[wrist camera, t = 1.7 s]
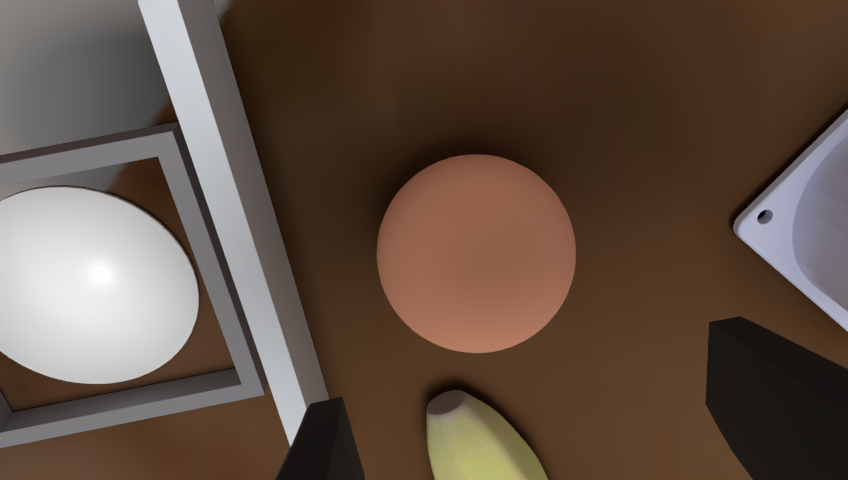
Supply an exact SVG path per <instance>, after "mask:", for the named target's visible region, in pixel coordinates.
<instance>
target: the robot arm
mask: <svg viewBox="0 0 848 480" xmlns="http://www.w3.org/2000/svg"><path fill="white" fill-rule="evenodd" d="M764 210H766V213H765V215H764V216H763V217H762V218H760V219H757V218H758V215H759V214H760V212H762V211H764ZM733 230H734V232H735V234H736V235H737V236H738V237H739V238H740V239H741V240H743V241H744V242H745V243H746V244H747V245H748V246H750V247H751V248H752V249H753V250H754V251H755V252H756V253H758V254H759V255H760V256H761V257H762V258H763V259H765V260H766V261H767V262H768V263H769V264H770V265H771V266H773V267H774V268H775V269H776V270H777V271H778V272H779V273H781V274H782V275H783V276H784V277H785V278H786V279H788V280H789V281H790V282H791V283H792V284H793V285H794V286H796V287H797V288H798V289H799V290H800V291H801V292H803V293H804V294H805V295H806V296H807V297H808V298H809V299H811V300H812V301H813V302H814V303H815V304H816V305H818V306H819V307H820V308H821V309H822V310H823V311H824V312H826V313H827V314H828V315H829V316H830V317H831V318H832V319H834V320H835V321H836V322H837V323H838V324H839V325H841V326H842V327H843V328H844V329H845V330H846V331H847V332H848V109H847V110H846V111H845V112H844V113H843V114H842V115H841V116H840V117H839V118H838V119H837V120H836V121H835V122H834V123H833V124H832V125H831V126H830V127H829V128H828V129H827V130H826V131H825V132H824V133H823V134H822V135H821V136H820V137H819V138H818V139H816V140H815V141H814V142H813V143H812V144H811V145H810V146H809V147H808V148H807V149H806V150H805V151H804V152H803V153H802V154H801V155H800V156H799V157H798V158H797V159H796V160H795V161H794V162H793V163H792V164H791V165H790V166H789V167H788V168H787V169H786V170H785V171H784V172H783V173H782V174H781V175H780V176H779V177H778V178H777V179H776V180H775V181H774V182H773V183H772V184H771V185H770V186H769V187H768V188H766V189H765V190H764V191H763V192H762V193H761V194H760V195H759V196H758V197H757V198H756V199H755V200H754V201H753V202H752V203H751V204H750V205H749V206H748V207H747V208H746V209H745V210H744V211H743V212H742V213H741V214H740V215H739V216H738V217H737V219H736V220H735V222H734V225H733ZM706 406H707V407H708V409H709V411H710V413H711V415H712V417H713V418H714V420H715V422H716V424H717V426H718V428H719V429H720V431H721V433H722V435H723V436H724V438H725V440H726V441H727V443H728V445H729V447H730V448H731V450H732V451H733V453H734V454H735V456H736V457H737V458H738V460H739V461H740V462H741V464H742V465H743V466H744V468H745V469H746V471H747V472H748V473H749V475H750V476H751V477H752V479H753V480H848V369H847V368H845V367H842V366H840V365H838V364H836V363H834V362H832V361H830V360H828V359H826V358H824V357H822V356H820V355H818V354H816V353H814V352H812V351H810V350H808V349H806V348H804V347H802V346H800V345H798V344H796V343H794V342H792V341H790V340H788V339H786V338H784V337H782V336H780V335H778V334H776V333H774V332H772V331H770V330H768V329H766V328H764V327H762V326H760V325H758V324H756V323H754V322H752V321H749V320H747V319H745V318H743V317H740V316H739V317H734V318H729V319H724V320H719V321H714V322H709V340H708V363H707V386H706ZM275 480H365V478H364V472H363V469H362V465H361V462H360V458H359V455H358V451H357V447H356V444H355V440H354V437H353V433H352V430H351V426H350V423H349V419H348V416H347V412H346V408H345V405H344V401H343V398H342V397H339V398H335V399H330V400H325V401H320V402H315V403H311V404H310V405H309V406H308V408H307V409H306V412H305V414H304V417H303V419H302V422H301V424H300V426H299V429H298V431H297V434H296V436H295V438H294V441H293V443H292V445H291V447H290V449H289V452H288V454H287V456H286V458H285V460H284V462H283V464H282V466H281V468H280V470H279V472H278V474H277V476H276V478H275Z"/></svg>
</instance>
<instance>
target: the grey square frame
mask: <svg viewBox="0 0 848 480" xmlns="http://www.w3.org/2000/svg"><path fill="white" fill-rule="evenodd" d="M157 156H158V158H159V161H160V163H161V166H162V169H163V172H164V174H165V177H166V180H167V182H168V185H169V188H170V191H171V193H172V196H173V199H174V202H175V204H176V207H177V210H178V212H179V215H180V218H181V221H182V223H183V226H184V229H185V231H186V234H187V237H188V240H189V242H190V245H191V248H192V251H193V253H194V256H195V259H196V261H197V264H198V267H199V270H200V272H201V275H202V278H203V280H204V283H205V286H206V289H207V291H208V294H209V297H210V300H211V302H212V305H213V308H214V310H215V313H216V316H217V319H218V321H219V324H220V327H221V329H222V332H223V335H224V338H225V340H226V343H227V346H228V349H229V351H230V354H231V357H232V359H233V362H234V365H235V368H233V369H228V370H223V371H218V372H213V373H208V374H203V375H198V376H193V377H188V378H183V379H178V380H173V381H168V382H163V383H158V384H153V385H148V386H143V387H138V388H133V389H128V390H123V391H118V392H113V393H108V394H103V395H98V396H93V397H88V398H83V399H78V400H73V401H68V402H63V403H58V404H53V405H48V406H43V407H38V408H33V409H28V410H23V411H18V412H12V410H11V408H10V407H9V405H8V403H7V401H6V400H5V398H4V396H3V395H2V393H1V391H0V448H3V447H8V446H13V445H18V444H23V443H28V442H33V441H38V440H43V439H48V438H53V437H58V436H63V435H68V434H73V433H78V432H83V431H88V430H93V429H98V428H103V427H108V426H113V425H118V424H123V423H128V422H133V421H138V420H143V419H148V418H153V417H158V416H163V415H168V414H173V413H178V412H182V411H187V410H192V409H197V408H202V407H207V406H212V405H217V404H222V403H227V402H232V401H237V400H242V399H247V398H252V397H257V396H262V395H265V390H266V384H267V377H266V374H265V371H264V368H263V365H262V362H261V359H260V356H259V353H258V350H257V347H256V344H255V342H254V339H253V336H252V333H251V330H250V327H249V324H248V321H247V318H246V315H245V312H244V310H243V307H242V304H241V301H240V298H239V295H238V292H237V289H236V286H235V283H234V280H233V277H232V275H231V272H230V269H229V266H228V263H227V260H226V257H225V254H224V251H223V248H222V245H221V242H220V240H219V237H218V234H217V231H216V228H215V225H214V222H213V219H212V216H211V213H210V210H209V207H208V205H207V202H206V199H205V196H204V193H203V190H202V187H201V184H200V181H199V178H198V175H197V173H196V170H195V167H194V164H193V161H192V158H191V155H190V152H189V149H188V146H187V143H186V140H185V138H184V135H183V132H182V129H181V126H180V123H179V122H174V123H168V124H163V125H158V126H153V127H147V128H142V129H137V130H132V131H126V132H121V133H116V134H111V135H105V136H100V137H95V138H90V139H84V140H79V141H74V142H68V143H63V144H58V145H53V146H47V147H42V148H37V149H31V150H26V151H21V152H16V153H10V154H5V155H0V186H4V185H10V184H15V183H20V182H26V181H31V180H36V179H41V178H46V177H52V176H57V175H63V174H68V173H73V172H78V171H83V170H88V169H94V168H99V167H104V166H109V165H115V164H120V163H125V162H131V161H136V160H141V159H146V158H152V157H157ZM198 309H199V286H198V280H197V276H196V273H195V270H194V267H193V265H192V263H191V260H190V258H189V256H188V254H187V253H186V251H185V250H184V248H183V246H182V245H181V243H180V242H179V241H178V240H177V238H176V237H175V236H174V235H173V234H172V232H171V231H170V230H169V229H168V228H166V227H165V226H164V225H163V224H162V223H161V222H160V221H159V220H158V219H156V218H155V217H154V216H152V215H151V214H150V213H148V212H147V211H145V210H144V209H142V208H140V207H139V206H137V205H135V204H134V203H132V202H129V201H127V200H125V199H123V198H121V197H118V196H116V195H113V194H110V193H107V192H104V191H100V190H96V189H91V188H86V187H78V186H68V185H67V186H66V185H62V186H44V187H37V188H33V189H28V190H25V191H21V192H18V193H16V194H13V195H11V196H8V197H6V198H4V199H3V200H1V201H0V351H1V352H2V353H4V354H5V355H7V356H8V357H9V358H11V359H13V360H14V361H16V362H18V363H19V364H21V365H23V366H25V367H27V368H29V369H31V370H33V371H35V372H38V373H41V374H43V375H46V376H49V377H52V378H56V379H60V380H64V381H70V382H76V383H87V384H105V383H115V382H122V381H126V380H130V379H134V378H137V377H140V376H142V375H145V374H148V373H150V372H152V371H153V370H155V369H157V368H159V367H161V366H162V365H163V364H165V363H166V362H168V361H169V360H170V359H171V358H172V357H173V356H174V355H176V354H177V353H178V352H179V350H180V349H181V348H182V347H183V345H184V344H185V343H186V341H187V339H188V338H189V336H190V334H191V332H192V330H193V327H194V324H195V321H196V319H197V315H198Z"/></svg>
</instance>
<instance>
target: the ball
mask: <svg viewBox="0 0 848 480" xmlns="http://www.w3.org/2000/svg"><path fill="white" fill-rule="evenodd" d="M575 261H576V245H575V237H574V233H573V229H572V225H571V221H570V219H569V216H568V214H567V211H566V210H565V208H564V206H563V204H562V203H561V201H560V199H559V198H558V196H557V195H556V193H555V192H554V191H553V190H552V189H551V187H550V186H549V185H548V184H547V183H546V182H544V181H543V180H542V179H541V178H540V177H539V176H538V175H537V174H535V173H534V172H532V171H531V170H529V169H528V168H526V167H524V166H522V165H520V164H518V163H515V162H513V161H511V160H508V159H505V158H502V157H497V156H492V155H480V154H472V155H461V156H456V157H451V158H448V159H445V160H442V161H439V162H437V163H434V164H432V165H430V166H428V167H427V168H425V169H423V170H422V171H420V172H419V173H417V174H416V175H415V176H414V177H413V178H411V179H410V180H409V181H408V182H407V183H406V184H405V185H404V186H403V187H402V188H401V189H400V190H399V191H398V193H397V194H396V195H395V197H394V198H393V200H392V201H391V203H390V205H389V207H388V209H387V211H386V213H385V215H384V218H383V221H382V223H381V226H380V230H379V235H378V241H377V266H378V272H379V276H380V280H381V284H382V287H383V289H384V292H385V294H386V296H387V298H388V300H389V302H390V304H391V305H392V307H393V309H394V310H395V312H396V313H397V314H398V315H399V317H400V318H401V319H402V320H403V321H404V322H405V323H406V324H407V325H408V326H409V327H410V328H411V329H412V330H413V331H414V332H416V333H417V334H419V335H420V336H422V337H423V338H425V339H427V340H429V341H430V342H432V343H434V344H436V345H439V346H441V347H444V348H447V349H451V350H455V351H460V352H469V353H486V352H494V351H498V350H503V349H506V348H509V347H512V346H514V345H517V344H519V343H521V342H523V341H525V340H526V339H528V338H530V337H532V336H533V335H534V334H536V333H537V332H538V331H540V330H541V329H542V328H543V327H544V326H545V325H546V324H547V323H548V322H549V321H550V320H551V319H552V317H553V316H554V315H555V314H556V313H557V311H558V310H559V308H560V307H561V305H562V304H563V302H564V300H565V298H566V296H567V294H568V291H569V288H570V285H571V283H572V280H573V275H574V271H575Z"/></svg>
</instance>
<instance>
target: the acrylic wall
mask: <svg viewBox="0 0 848 480" xmlns="http://www.w3.org/2000/svg"><path fill="white" fill-rule="evenodd" d="M138 3H139V6H140V9H141V12H142V15H143V18H144V21H145V24H146V26H147V29H148V33H149V35H150V38H151V41H152V44H153V47H154V50H155V53H156V56H157V59H158V62H159V65H160V67H161V70H162V73H163V76H164V79H165V82H166V85H167V88H168V91H169V94H170V97H171V100H172V103H173V105H174V108H175V111H176V114H177V117H178V120H179V123H180V126H181V129H182V132H183V135H184V138H185V140H186V143H187V146H188V149H189V152H190V155H191V158H192V161H193V164H194V167H195V170H196V173H197V175H198V178H199V181H200V184H201V187H202V190H203V193H204V196H205V199H206V202H207V205H208V207H209V210H210V213H211V216H212V219H213V222H214V225H215V228H216V231H217V234H218V237H219V240H220V242H221V245H222V248H223V251H224V254H225V257H226V260H227V263H228V266H229V269H230V272H231V275H232V277H233V280H234V283H235V286H236V289H237V292H238V295H239V298H240V301H241V304H242V307H243V310H244V312H245V315H246V318H247V321H248V324H249V327H250V330H251V333H252V336H253V339H254V342H255V344H256V347H257V350H258V353H259V356H260V359H261V362H262V365H263V368H264V371H265V374H266V377H267V379H268V382H269V385H270V388H271V391H272V394H273V397H274V400H275V403H276V406H277V409H278V412H279V414H280V417H281V420H282V423H283V426H284V429H285V432H286V435H287V438H288V441H289V444H290V447H291V445H292V443H293V441H294V438H295V436H296V434H297V431H298V429H299V426H300V424H301V422H302V419H303V417H304V414H305V412H306V409H307V408H308V406H309V405H310V404H311V403H315V402H320V401H325V400H329V396H328V393H327V389H326V386H325V383H324V379H323V376H322V372H321V369H320V366H319V362H318V359H317V355H316V352H315V349H314V345H313V342H312V338H311V335H310V332H309V328H308V325H307V321H306V318H305V315H304V311H303V308H302V304H301V301H300V297H299V294H298V291H297V287H296V284H295V280H294V277H293V274H292V270H291V267H290V263H289V260H288V257H287V253H286V250H285V246H284V243H283V240H282V236H281V233H280V229H279V226H278V223H277V219H276V216H275V212H274V209H273V206H272V202H271V199H270V195H269V192H268V189H267V185H266V182H265V178H264V175H263V172H262V168H261V165H260V161H259V158H258V155H257V151H256V148H255V144H254V141H253V137H252V134H251V131H250V127H249V124H248V120H247V117H246V114H245V110H244V107H243V103H242V100H241V97H240V93H239V90H238V86H237V83H236V80H235V76H234V73H233V69H232V66H231V63H230V59H229V56H228V52H227V49H226V46H225V42H224V39H223V35H222V32H221V29H220V25H219V22H218V18H217V15H216V12H215V8H214V5H213V1H212V0H139V1H138Z"/></svg>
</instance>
